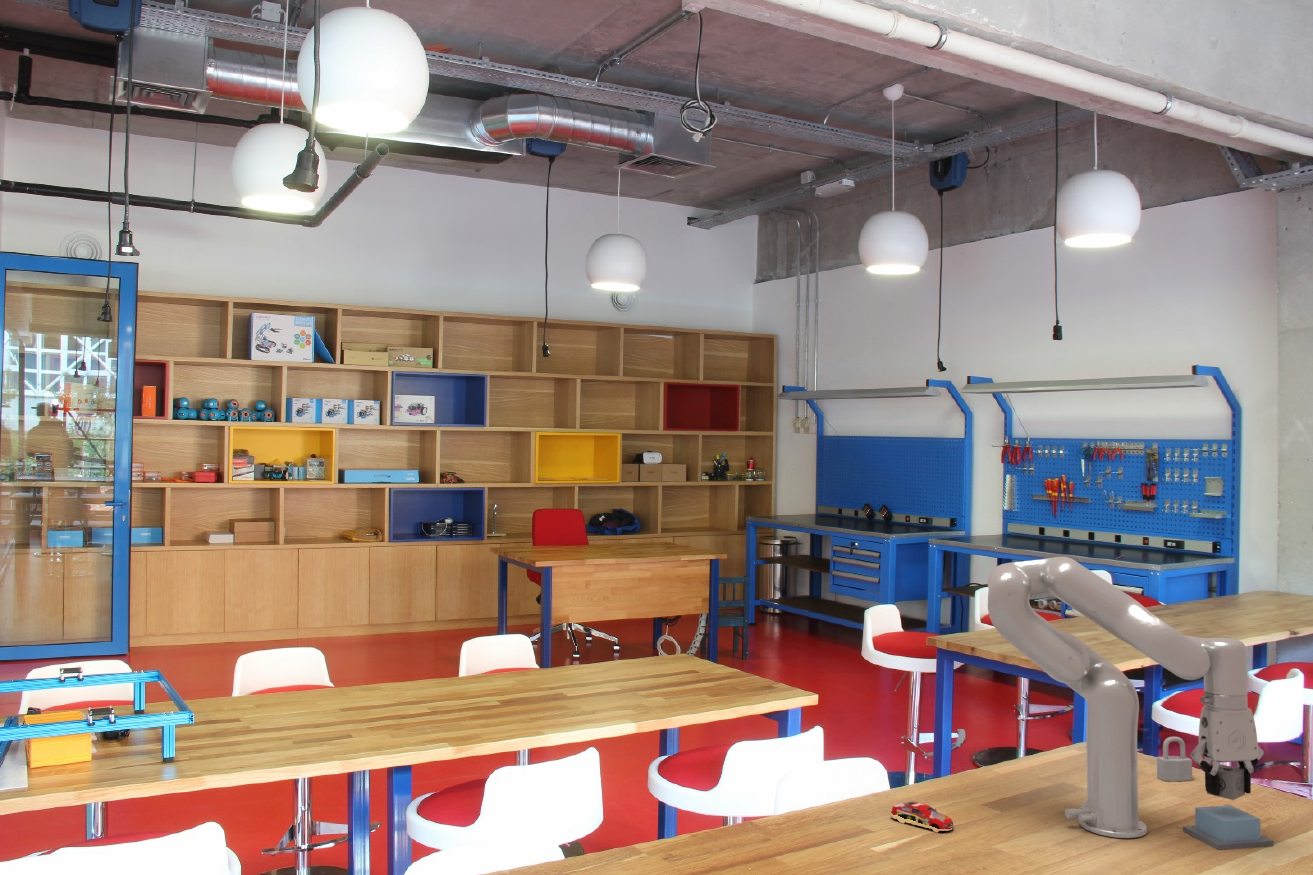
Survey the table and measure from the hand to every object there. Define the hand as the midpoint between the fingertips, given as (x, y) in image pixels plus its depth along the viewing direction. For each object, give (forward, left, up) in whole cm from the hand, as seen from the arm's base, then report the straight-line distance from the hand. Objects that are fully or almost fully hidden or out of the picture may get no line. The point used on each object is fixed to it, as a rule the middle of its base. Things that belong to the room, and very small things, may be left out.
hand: (1228, 791), depth 201 cm
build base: (0, 0, -9) cm, 9 cm away
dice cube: (0, 0, -1) cm, 1 cm away
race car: (-57, +18, -10) cm, 60 cm away
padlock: (+15, +36, -9) cm, 40 cm away
